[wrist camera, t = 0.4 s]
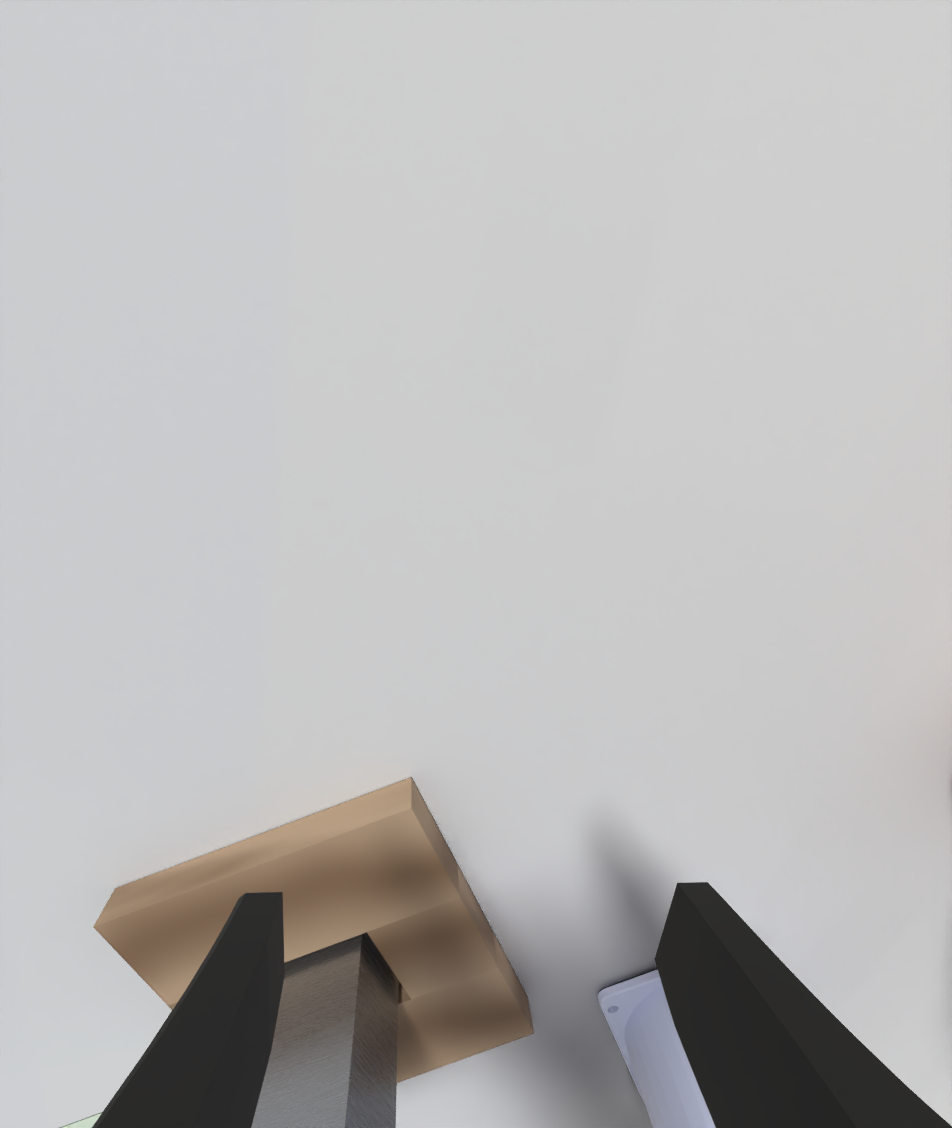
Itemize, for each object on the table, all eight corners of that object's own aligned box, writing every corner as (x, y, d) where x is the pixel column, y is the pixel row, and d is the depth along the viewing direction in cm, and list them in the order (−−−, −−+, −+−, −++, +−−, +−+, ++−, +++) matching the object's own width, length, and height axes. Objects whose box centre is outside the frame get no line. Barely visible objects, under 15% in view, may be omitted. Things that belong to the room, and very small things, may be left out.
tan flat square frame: (527, 996, 25) (533, 1033, 24) (288, 1083, 25) (281, 1124, 24) (411, 777, 20) (411, 807, 19) (115, 888, 20) (93, 926, 19)
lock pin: (399, 958, 23) (394, 1187, 17) (322, 986, 23) (287, 1225, 17) (364, 904, 22) (344, 1130, 16) (283, 934, 22) (229, 1171, 16)
